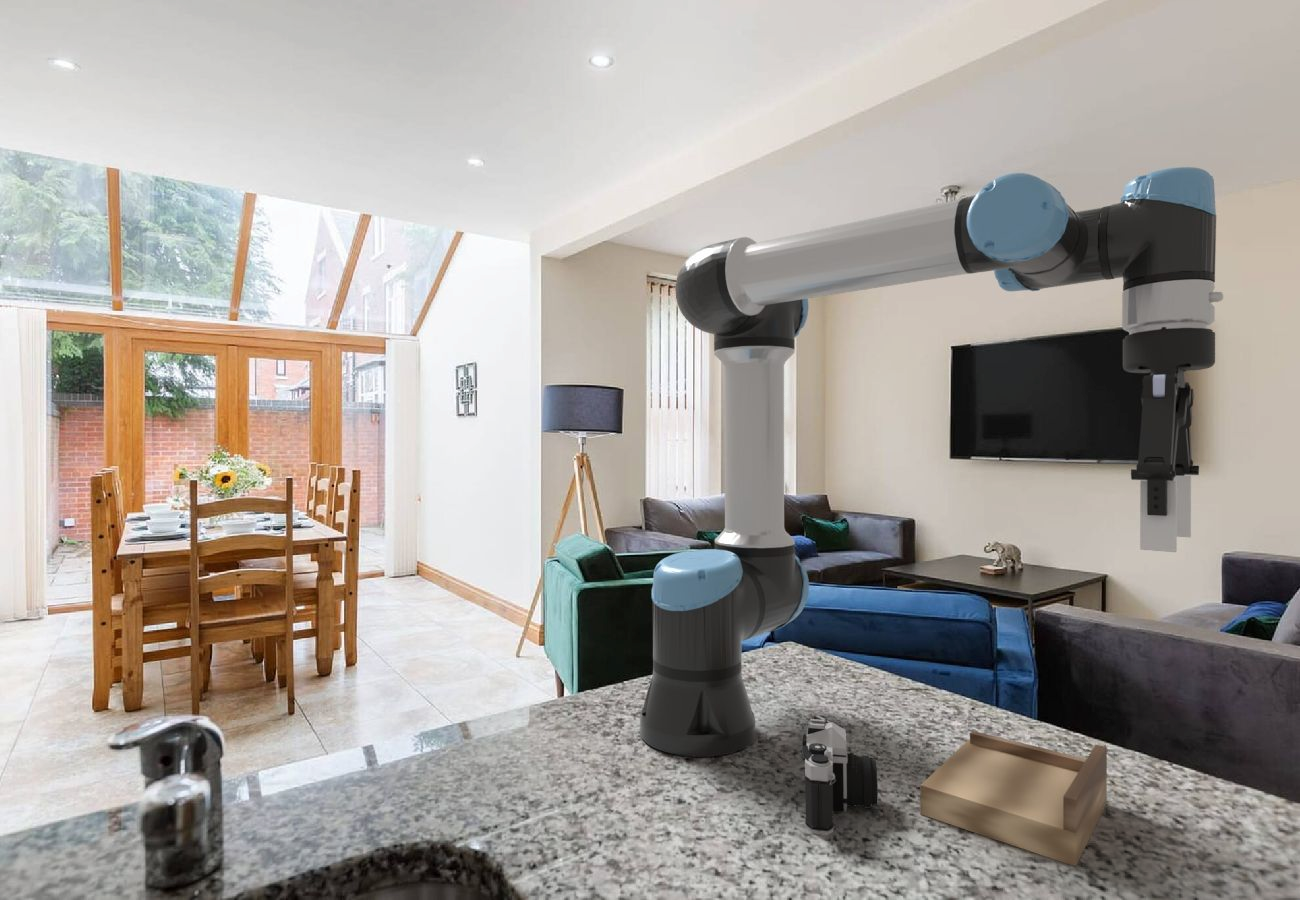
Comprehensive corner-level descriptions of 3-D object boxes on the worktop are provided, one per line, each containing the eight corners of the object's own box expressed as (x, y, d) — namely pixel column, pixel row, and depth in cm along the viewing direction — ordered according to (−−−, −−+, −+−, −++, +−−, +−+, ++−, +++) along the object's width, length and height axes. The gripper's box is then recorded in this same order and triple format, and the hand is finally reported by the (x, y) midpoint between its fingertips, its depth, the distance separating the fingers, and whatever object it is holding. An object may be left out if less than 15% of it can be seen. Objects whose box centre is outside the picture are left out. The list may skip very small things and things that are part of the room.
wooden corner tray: (920, 814, 74) (920, 755, 74) (968, 765, 85) (968, 714, 85) (1075, 866, 65) (1075, 800, 65) (1106, 803, 76) (1106, 746, 76)
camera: (885, 845, 69) (885, 748, 69) (801, 835, 70) (802, 740, 71) (871, 791, 81) (871, 710, 82) (800, 784, 83) (801, 704, 84)
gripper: (1204, 308, 60) (1203, 562, 61) (1223, 340, 79) (1222, 533, 79) (1100, 319, 65) (1099, 553, 65) (1141, 346, 84) (1140, 528, 84)
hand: (1167, 543), depth 72 cm, fingers open, 13 cm apart
